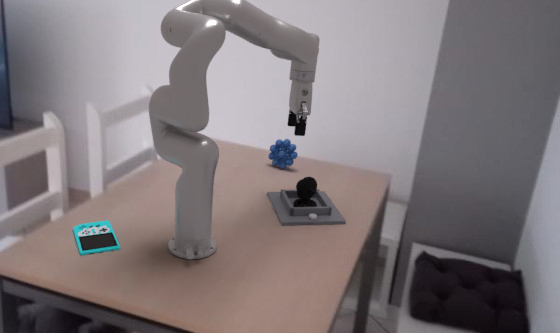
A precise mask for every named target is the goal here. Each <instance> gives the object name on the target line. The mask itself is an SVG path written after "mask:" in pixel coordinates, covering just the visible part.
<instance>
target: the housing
mask: <svg viewBox="0 0 560 333" xmlns="http://www.w3.org/2000/svg"><path fill="white" fill-rule="evenodd" d="M266 196H267V197H268V200H269V201H270V203H271V206H272V208H273V210H274V212H275V214H276V216H277V218H278V221H279V222H280V225H281V226H312V225H316V226H317V225H345V224H346V222H347V221H346V219H345V217H344V216H343V214H342V213H341V212H340V211H339V209H338V208H337V207H336V205H335V203H333V201H332V200H331V199H330V197H329V195H328V194H327V193H326V191H325V190H320V189H318V188H317V190H316V193H315V194H314V195H313V197H312V198H310V199H311V200H313V201H315V202H316V203H317V207H295V206H294V205H293V203H294V201H295V200H296V199H299V197H298V196H297V189H280V191H266ZM298 204H299V205H302V206H305V204H303V203H298Z"/></svg>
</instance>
